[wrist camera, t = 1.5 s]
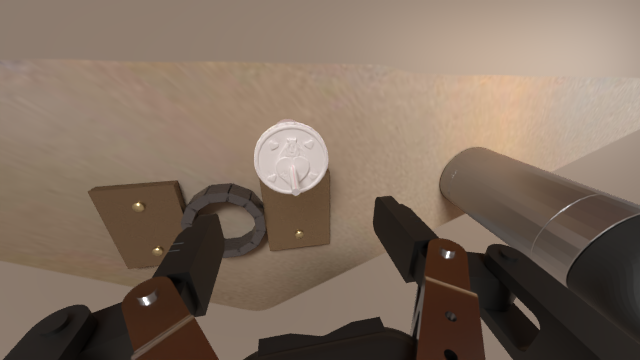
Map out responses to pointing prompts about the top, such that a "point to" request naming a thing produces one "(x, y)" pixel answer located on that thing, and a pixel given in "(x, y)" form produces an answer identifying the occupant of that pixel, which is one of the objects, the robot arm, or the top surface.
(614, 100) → the top surface
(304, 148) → the smoothie
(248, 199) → the hinge base
